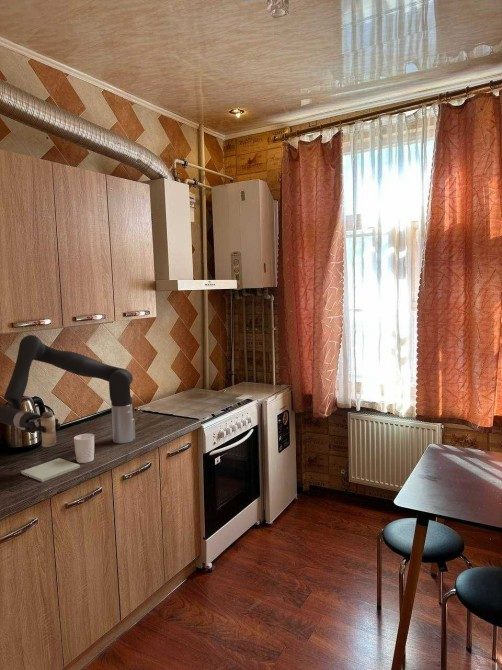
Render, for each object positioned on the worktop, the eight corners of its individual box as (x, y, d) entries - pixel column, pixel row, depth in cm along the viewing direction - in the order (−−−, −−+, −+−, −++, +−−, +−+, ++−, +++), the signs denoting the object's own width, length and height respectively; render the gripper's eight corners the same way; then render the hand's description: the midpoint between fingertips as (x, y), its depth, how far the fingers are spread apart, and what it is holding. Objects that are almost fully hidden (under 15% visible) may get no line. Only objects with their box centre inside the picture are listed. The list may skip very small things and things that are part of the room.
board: (59, 460, 186) (59, 458, 186) (80, 467, 178) (80, 464, 178) (21, 473, 173) (21, 471, 173) (42, 481, 165) (42, 479, 165)
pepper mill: (51, 441, 178) (49, 410, 177) (59, 443, 175) (57, 412, 174) (39, 445, 174) (37, 413, 173) (47, 447, 171) (45, 415, 170)
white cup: (71, 460, 186) (70, 436, 185) (90, 455, 192) (89, 432, 191) (80, 465, 180) (78, 441, 179) (98, 460, 186) (97, 436, 185)
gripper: (9, 416, 176) (34, 423, 166) (44, 408, 187) (68, 414, 178) (10, 435, 176) (35, 442, 167) (45, 425, 188) (69, 432, 179)
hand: (52, 428), depth 172 cm, fingers closed on pepper mill, 5 cm apart
